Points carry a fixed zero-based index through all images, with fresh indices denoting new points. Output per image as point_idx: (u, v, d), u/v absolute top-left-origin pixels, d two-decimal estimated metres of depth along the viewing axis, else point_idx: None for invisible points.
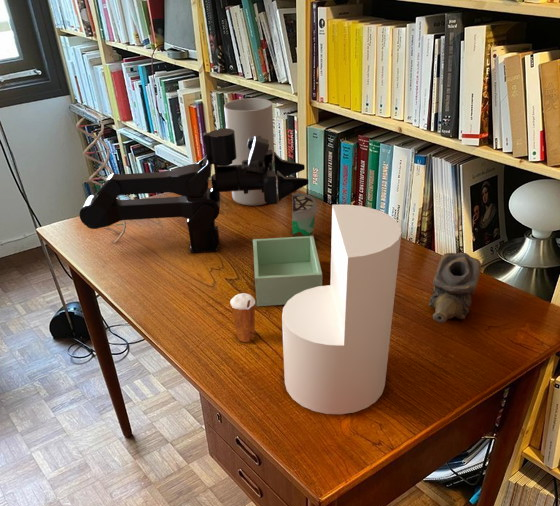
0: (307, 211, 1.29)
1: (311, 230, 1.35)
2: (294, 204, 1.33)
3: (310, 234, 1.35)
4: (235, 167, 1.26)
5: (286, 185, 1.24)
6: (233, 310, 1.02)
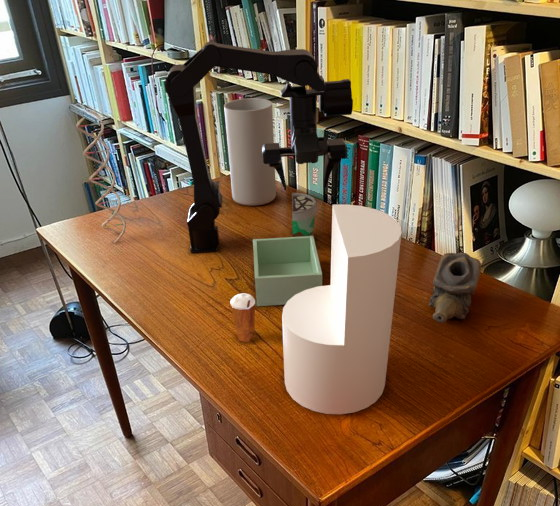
0: (307, 211, 1.29)
1: (311, 230, 1.35)
2: (294, 204, 1.33)
3: (310, 234, 1.35)
4: (316, 115, 1.20)
5: None
6: (233, 310, 1.02)
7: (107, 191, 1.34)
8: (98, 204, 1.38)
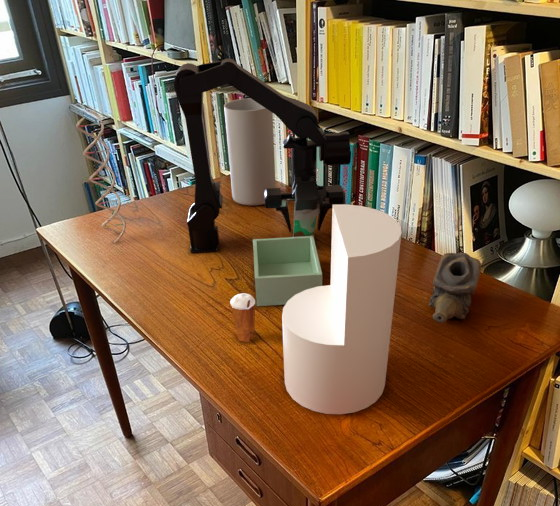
0: (310, 211, 1.29)
1: (312, 230, 1.34)
2: None
3: (311, 234, 1.35)
4: (316, 164, 1.26)
5: None
6: (233, 310, 1.02)
7: (107, 191, 1.34)
8: (98, 204, 1.38)
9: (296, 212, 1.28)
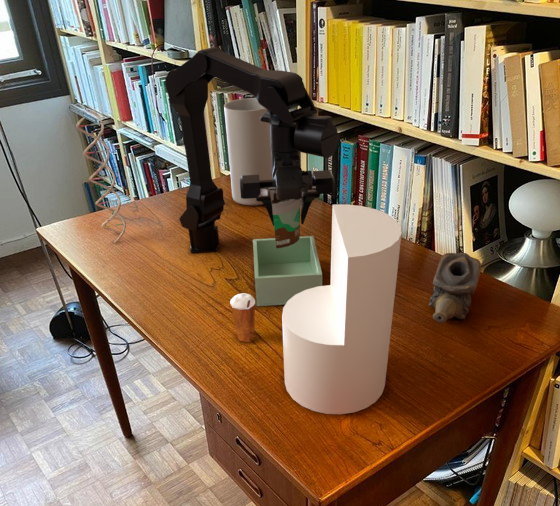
0: (290, 202, 1.10)
1: (296, 225, 1.15)
2: (275, 195, 1.13)
3: (295, 229, 1.15)
4: (294, 149, 1.05)
5: None
6: (233, 310, 1.02)
7: (107, 191, 1.34)
8: (98, 204, 1.38)
9: (274, 205, 1.09)
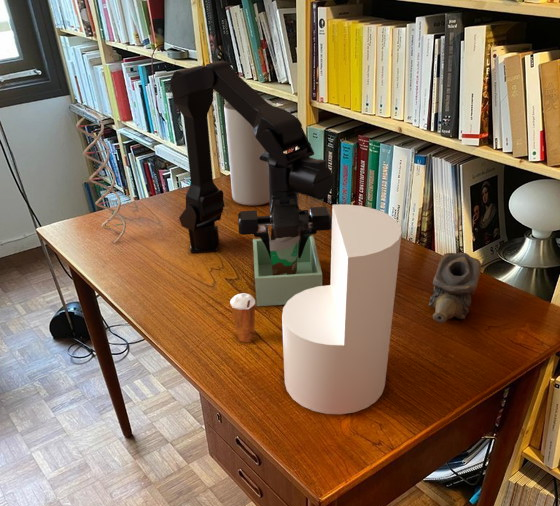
0: (287, 239, 1.12)
1: (293, 259, 1.17)
2: (273, 230, 1.15)
3: (293, 264, 1.17)
4: (290, 188, 1.07)
5: None
6: (233, 310, 1.02)
7: (107, 191, 1.34)
8: (98, 204, 1.38)
9: (271, 242, 1.11)
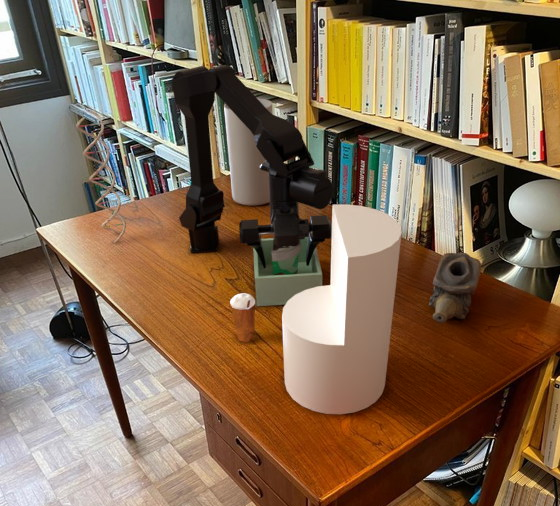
0: (289, 250, 1.14)
1: (294, 270, 1.19)
2: None
3: None
4: (290, 198, 1.09)
5: None
6: (233, 310, 1.02)
7: (107, 191, 1.34)
8: (98, 204, 1.38)
9: (273, 252, 1.13)
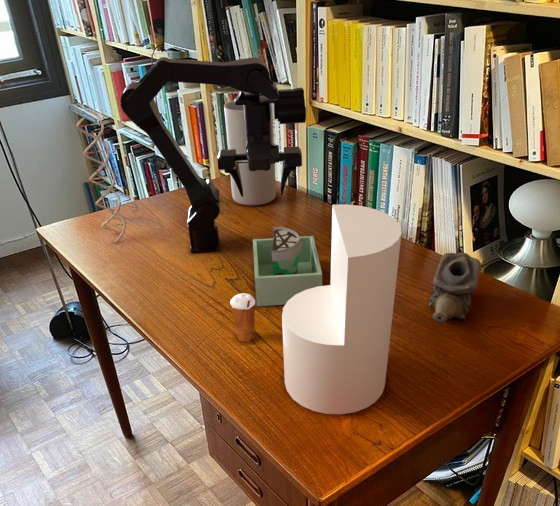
0: (289, 250, 1.14)
1: (294, 270, 1.19)
2: (275, 241, 1.17)
3: None
4: (270, 123, 1.21)
5: None
6: (233, 310, 1.02)
7: (107, 191, 1.34)
8: (98, 204, 1.38)
9: (273, 252, 1.13)
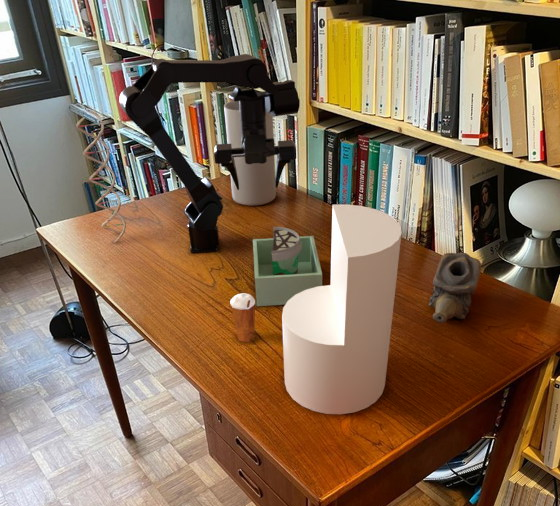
0: (289, 250, 1.14)
1: (294, 270, 1.19)
2: (275, 241, 1.17)
3: None
4: (265, 116, 1.25)
5: None
6: (233, 310, 1.02)
7: (107, 191, 1.34)
8: (98, 204, 1.38)
9: (273, 252, 1.13)
